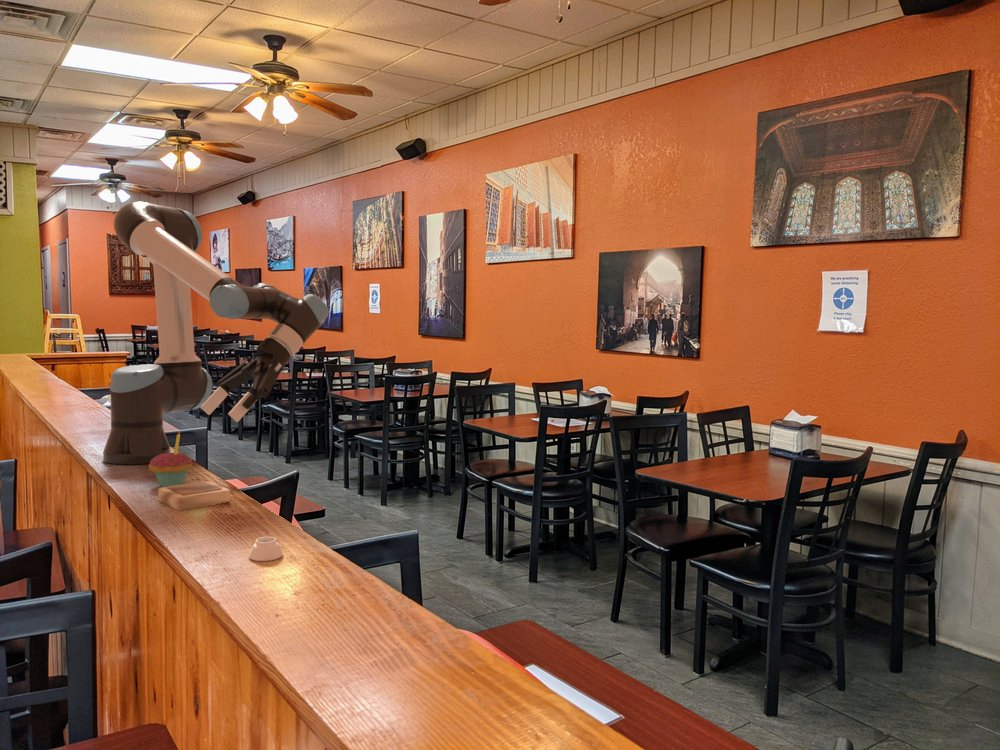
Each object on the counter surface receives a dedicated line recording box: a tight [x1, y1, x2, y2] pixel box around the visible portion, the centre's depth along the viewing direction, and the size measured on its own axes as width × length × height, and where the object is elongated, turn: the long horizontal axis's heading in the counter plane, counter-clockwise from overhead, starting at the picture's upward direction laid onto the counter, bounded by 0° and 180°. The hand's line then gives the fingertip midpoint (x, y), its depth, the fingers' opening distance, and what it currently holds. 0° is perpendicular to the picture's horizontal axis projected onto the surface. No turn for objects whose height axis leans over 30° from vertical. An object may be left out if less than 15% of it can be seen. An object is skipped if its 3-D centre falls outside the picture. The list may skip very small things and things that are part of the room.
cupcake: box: [148, 430, 194, 488], centre depth 156 cm, size 9×8×12 cm
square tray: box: [157, 480, 231, 512], centre depth 144 cm, size 10×10×3 cm
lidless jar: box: [248, 536, 284, 563], centre depth 113 cm, size 5×3×5 cm
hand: (218, 414), depth 163 cm, fingers open, 13 cm apart
